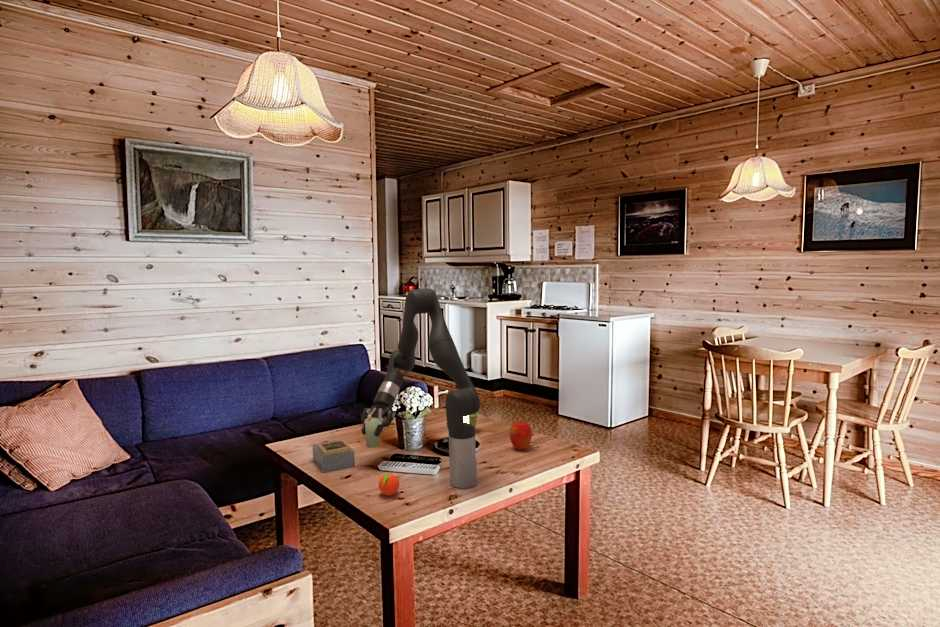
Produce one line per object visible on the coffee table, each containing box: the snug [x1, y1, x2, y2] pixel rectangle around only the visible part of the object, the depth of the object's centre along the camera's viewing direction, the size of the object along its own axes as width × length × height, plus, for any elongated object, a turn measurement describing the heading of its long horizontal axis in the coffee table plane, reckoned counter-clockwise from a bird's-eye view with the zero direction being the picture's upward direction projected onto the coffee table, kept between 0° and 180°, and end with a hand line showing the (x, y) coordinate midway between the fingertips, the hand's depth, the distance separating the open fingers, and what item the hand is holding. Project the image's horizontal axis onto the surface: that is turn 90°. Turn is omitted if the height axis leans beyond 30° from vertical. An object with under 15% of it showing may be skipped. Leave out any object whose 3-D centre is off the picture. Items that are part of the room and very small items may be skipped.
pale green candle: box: [365, 415, 381, 448], centre depth 214 cm, size 5×5×12 cm
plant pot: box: [470, 411, 479, 429], centre depth 254 cm, size 9×9×9 cm
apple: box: [508, 420, 533, 451], centre depth 231 cm, size 9×9×12 cm
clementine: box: [378, 473, 400, 497], centre depth 190 cm, size 8×7×7 cm
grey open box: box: [311, 439, 356, 474], centre depth 220 cm, size 16×12×8 cm
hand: (369, 434), depth 213 cm, fingers closed on pale green candle, 5 cm apart
